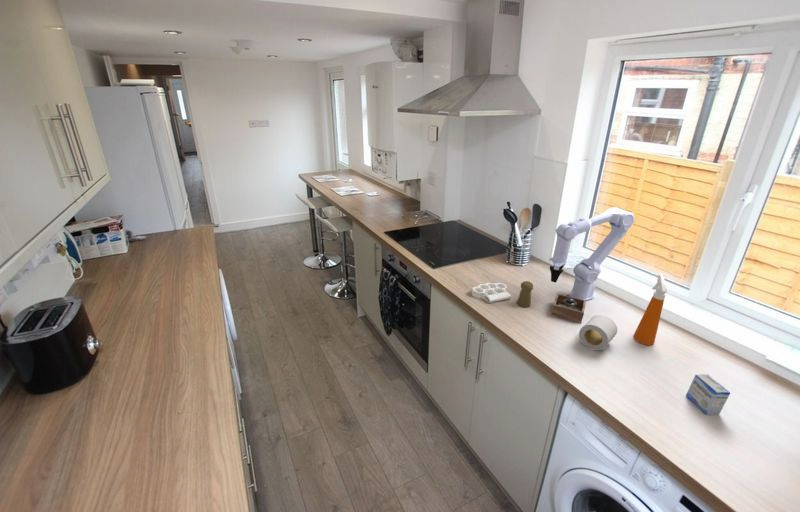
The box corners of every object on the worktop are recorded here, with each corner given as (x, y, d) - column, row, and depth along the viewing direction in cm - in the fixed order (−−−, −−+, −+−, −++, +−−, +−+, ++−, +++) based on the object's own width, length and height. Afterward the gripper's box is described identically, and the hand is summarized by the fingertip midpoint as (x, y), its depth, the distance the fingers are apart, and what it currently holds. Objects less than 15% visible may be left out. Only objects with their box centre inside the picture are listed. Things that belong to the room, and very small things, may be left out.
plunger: (558, 304, 165) (561, 291, 162) (579, 310, 161) (583, 297, 158) (555, 313, 157) (558, 300, 155) (577, 319, 154) (581, 306, 151)
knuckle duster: (483, 306, 163) (466, 291, 176) (516, 299, 170) (497, 285, 182) (484, 299, 162) (466, 284, 174) (517, 293, 168) (498, 279, 181)
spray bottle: (648, 331, 148) (669, 273, 137) (656, 347, 138) (679, 285, 128) (629, 327, 150) (648, 269, 139) (635, 342, 140) (656, 282, 130)
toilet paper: (586, 332, 146) (592, 310, 142) (613, 343, 140) (620, 321, 136) (576, 342, 140) (582, 320, 136) (604, 355, 133) (611, 332, 129)
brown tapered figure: (531, 308, 161) (535, 286, 157) (517, 306, 162) (521, 285, 158) (529, 301, 167) (533, 280, 162) (515, 300, 168) (519, 278, 164)
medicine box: (685, 395, 116) (694, 373, 112) (698, 395, 116) (707, 373, 113) (706, 415, 108) (717, 392, 105) (720, 414, 109) (731, 392, 105)
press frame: (554, 302, 167) (557, 293, 165) (583, 310, 161) (586, 300, 160) (550, 314, 157) (553, 304, 155) (581, 323, 152) (583, 313, 150)
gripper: (554, 244, 168) (548, 270, 174) (549, 254, 157) (543, 282, 162) (570, 247, 165) (563, 274, 171) (566, 258, 154) (559, 286, 159)
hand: (554, 278), depth 166 cm, fingers open, 7 cm apart
